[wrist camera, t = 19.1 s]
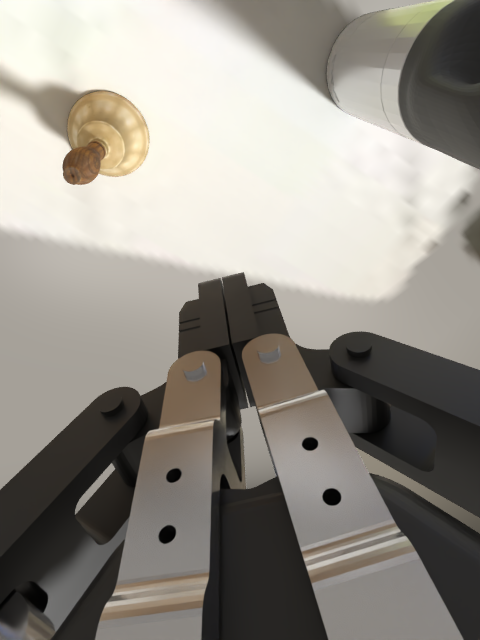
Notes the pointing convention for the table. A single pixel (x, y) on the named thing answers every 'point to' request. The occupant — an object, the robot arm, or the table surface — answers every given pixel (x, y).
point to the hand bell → (104, 138)
